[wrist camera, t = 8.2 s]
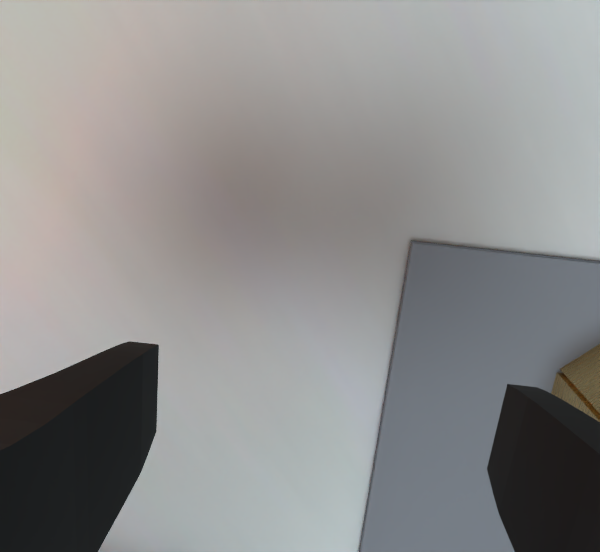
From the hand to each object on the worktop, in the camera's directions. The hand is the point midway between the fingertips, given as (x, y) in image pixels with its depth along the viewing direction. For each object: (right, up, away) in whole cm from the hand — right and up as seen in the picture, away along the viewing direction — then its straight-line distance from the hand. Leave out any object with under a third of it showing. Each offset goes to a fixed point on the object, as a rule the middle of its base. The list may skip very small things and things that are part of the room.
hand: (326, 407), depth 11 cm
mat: (+9, -4, +11) cm, 15 cm away
